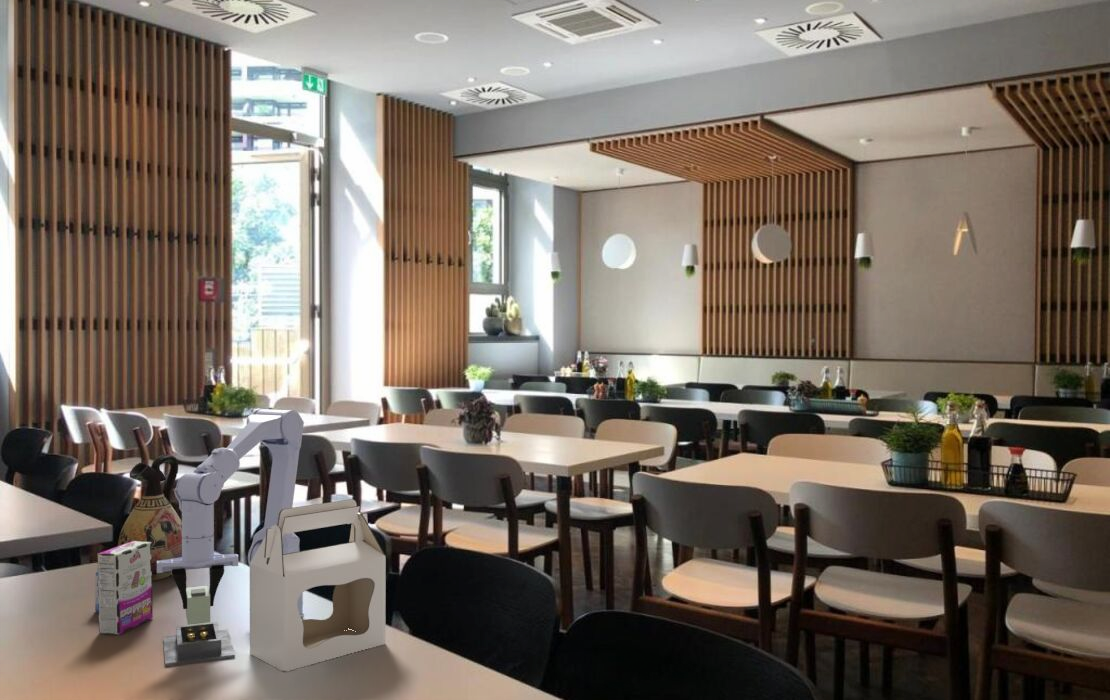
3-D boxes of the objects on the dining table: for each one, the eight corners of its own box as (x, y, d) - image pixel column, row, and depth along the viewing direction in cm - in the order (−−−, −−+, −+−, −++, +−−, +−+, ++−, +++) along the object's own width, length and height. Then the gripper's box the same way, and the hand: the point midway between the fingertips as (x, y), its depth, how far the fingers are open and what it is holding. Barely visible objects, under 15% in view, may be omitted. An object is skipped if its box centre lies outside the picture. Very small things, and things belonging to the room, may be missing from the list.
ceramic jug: (142, 588, 220) (142, 461, 220) (104, 578, 229) (104, 456, 228) (204, 573, 234) (204, 453, 234) (167, 564, 243) (166, 449, 242)
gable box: (282, 673, 167) (282, 517, 166) (248, 654, 176) (247, 506, 176) (387, 644, 183) (387, 501, 182) (350, 628, 192) (350, 492, 191)
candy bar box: (132, 617, 198) (132, 540, 198) (153, 618, 197) (153, 541, 197) (96, 634, 188) (96, 552, 187) (118, 635, 187) (118, 554, 186)
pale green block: (207, 610, 184) (207, 582, 184) (210, 622, 177) (210, 592, 177) (185, 613, 183) (185, 584, 183) (187, 624, 175) (187, 594, 175)
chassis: (227, 632, 189) (227, 617, 189) (234, 657, 174) (234, 641, 174) (163, 639, 184) (163, 624, 184) (165, 666, 170) (165, 650, 170)
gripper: (156, 543, 172) (157, 616, 173) (239, 536, 178) (239, 607, 178) (156, 535, 179) (156, 606, 179) (236, 529, 185) (236, 597, 185)
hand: (198, 606), depth 179 cm, fingers closed on pale green block, 4 cm apart
